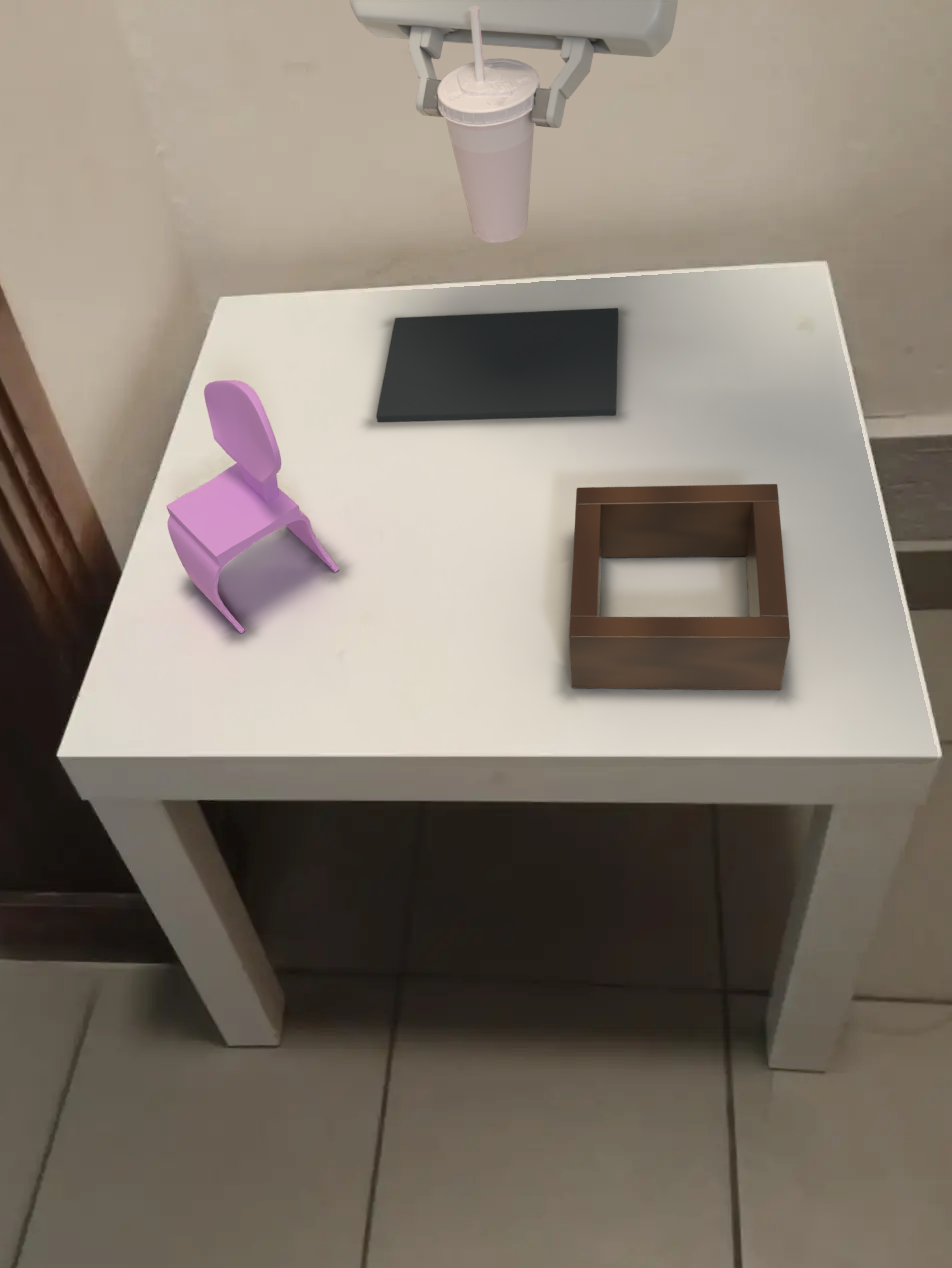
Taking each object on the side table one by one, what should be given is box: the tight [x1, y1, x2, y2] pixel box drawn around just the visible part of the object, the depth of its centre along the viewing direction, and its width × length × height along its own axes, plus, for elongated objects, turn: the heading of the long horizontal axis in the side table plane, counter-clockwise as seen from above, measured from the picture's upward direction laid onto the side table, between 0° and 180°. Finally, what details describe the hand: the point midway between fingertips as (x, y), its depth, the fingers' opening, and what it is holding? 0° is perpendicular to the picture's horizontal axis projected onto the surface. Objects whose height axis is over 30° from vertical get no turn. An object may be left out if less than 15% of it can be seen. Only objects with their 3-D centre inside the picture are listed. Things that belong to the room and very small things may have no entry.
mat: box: [375, 307, 619, 423], centre depth 95 cm, size 18×12×1 cm, turn 84°
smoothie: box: [437, 6, 541, 244], centre depth 77 cm, size 6×6×14 cm
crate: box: [568, 483, 791, 691], centre depth 77 cm, size 13×13×5 cm
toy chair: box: [165, 379, 340, 634], centre depth 79 cm, size 8×9×15 cm
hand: (487, 119), depth 76 cm, fingers closed on smoothie, 6 cm apart
